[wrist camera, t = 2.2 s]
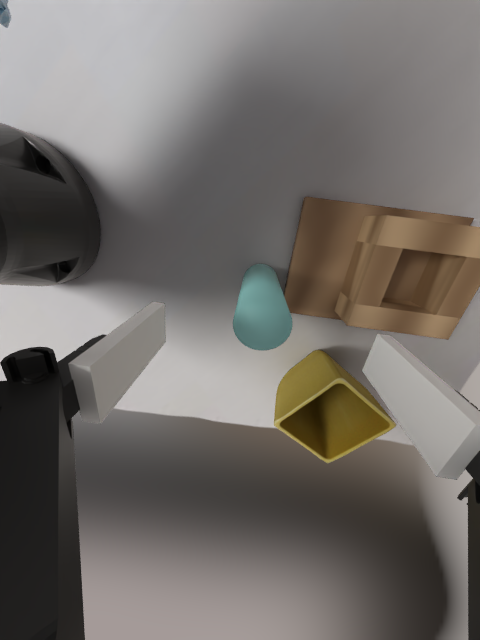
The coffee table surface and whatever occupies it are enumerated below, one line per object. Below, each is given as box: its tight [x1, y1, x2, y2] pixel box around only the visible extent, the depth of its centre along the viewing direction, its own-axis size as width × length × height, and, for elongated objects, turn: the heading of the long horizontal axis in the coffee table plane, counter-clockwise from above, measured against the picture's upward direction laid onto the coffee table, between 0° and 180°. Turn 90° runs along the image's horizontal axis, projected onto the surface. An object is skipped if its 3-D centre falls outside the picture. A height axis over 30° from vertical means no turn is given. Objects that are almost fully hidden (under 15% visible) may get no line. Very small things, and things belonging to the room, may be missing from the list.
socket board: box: [284, 197, 480, 339], centre depth 22 cm, size 16×12×5 cm
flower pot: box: [274, 350, 396, 463], centre depth 26 cm, size 9×9×9 cm
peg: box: [233, 264, 292, 350], centre depth 20 cm, size 4×4×12 cm
